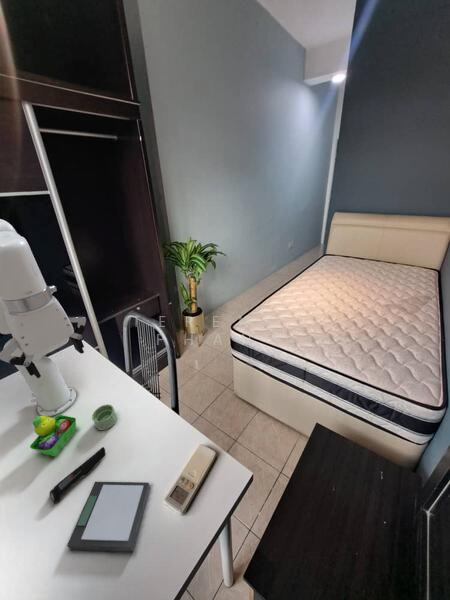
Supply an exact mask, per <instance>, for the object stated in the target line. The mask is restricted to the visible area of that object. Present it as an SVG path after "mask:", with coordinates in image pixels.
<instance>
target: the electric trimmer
mask: <svg viewBox="0 0 450 600" xmlns="http://www.w3.org/2000/svg"><path fill="white" fill-rule="evenodd" d="M105 456H106V447H104V446H103V447H101V448H100V449H98V450H97V451H96V452H95V453H94V454H93V455H91V456H90V457H88V458H87V459H86V460H85V461H84V462H82V463H81V464H80V465H79V466H78V467H76V468H75V469H74V470H72V471H71V472H70V473H69V474H67V476H65V477H64V478H63V479H61V480H60V481H59V482H58V483H57V484H55V485H54V486H53V488H52V489H51V490H50V491H49V498H50V500H51V501H52V503H53V504H56V503H59V502H60V500H61V497H62V496H63V495H64V494H65V493H66V492H67V491H69V490H70V489H71V488H72V487H73V486H74V485H75V484H76V483H77V482H79V480H81V479H82V478H83V477H85V476H87V475H88V474H89V473H90V472H92V470H94V468H96V466H97V465H98V464H99V463H100V462H101V460H103V458H104V457H105Z"/></svg>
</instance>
